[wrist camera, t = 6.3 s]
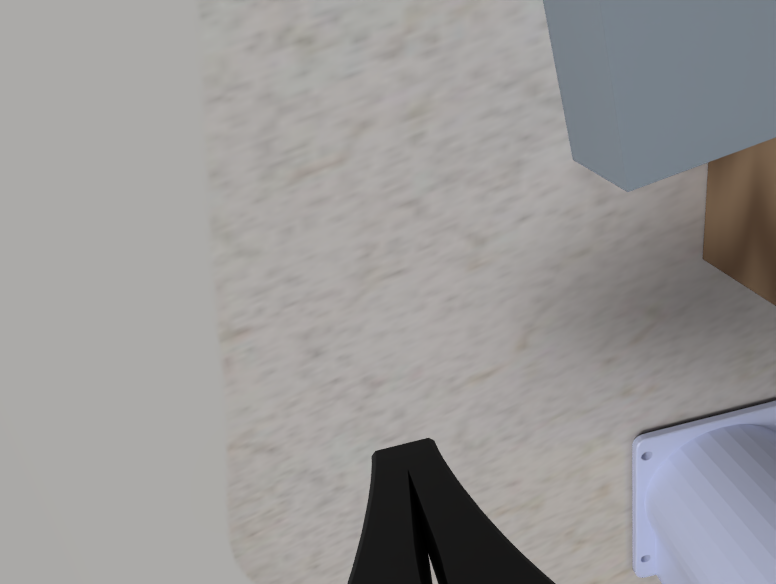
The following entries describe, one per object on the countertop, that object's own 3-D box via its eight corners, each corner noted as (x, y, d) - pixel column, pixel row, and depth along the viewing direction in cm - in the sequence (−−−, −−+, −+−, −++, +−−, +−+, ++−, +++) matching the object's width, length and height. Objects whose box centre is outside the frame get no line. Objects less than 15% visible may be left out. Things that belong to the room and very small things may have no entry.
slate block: (707, 107, 20) (793, 130, 17) (570, 158, 21) (627, 191, 17) (693, -87, 18) (792, -108, 14) (536, -27, 18) (594, -33, 14)
